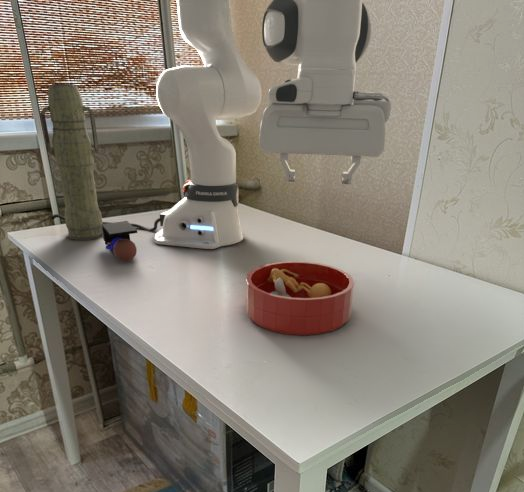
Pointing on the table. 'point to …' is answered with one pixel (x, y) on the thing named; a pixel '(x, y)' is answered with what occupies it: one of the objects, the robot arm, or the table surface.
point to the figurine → (313, 291)
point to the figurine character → (119, 239)
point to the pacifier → (280, 288)
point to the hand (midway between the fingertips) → (318, 182)
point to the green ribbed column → (74, 159)
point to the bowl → (299, 299)
